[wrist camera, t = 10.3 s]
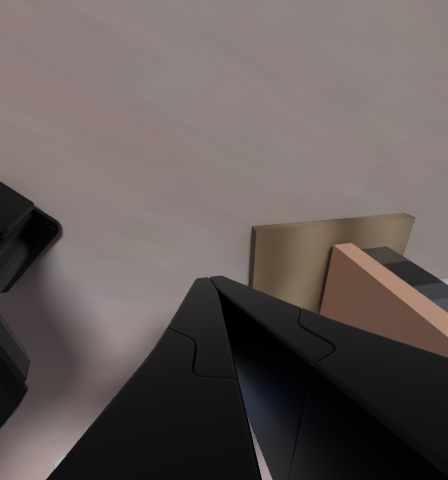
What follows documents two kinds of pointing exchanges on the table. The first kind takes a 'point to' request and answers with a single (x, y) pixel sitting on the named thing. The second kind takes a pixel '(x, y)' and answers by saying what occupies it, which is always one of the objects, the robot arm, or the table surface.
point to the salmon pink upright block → (381, 302)
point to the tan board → (315, 253)
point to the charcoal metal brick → (412, 275)
